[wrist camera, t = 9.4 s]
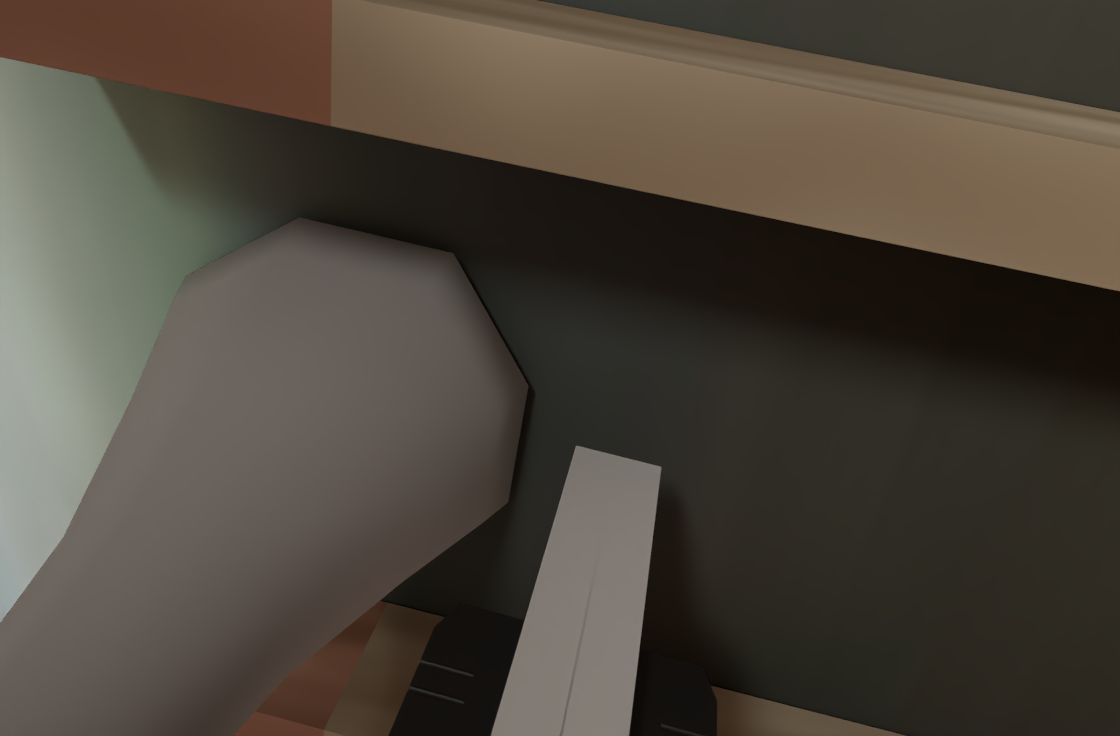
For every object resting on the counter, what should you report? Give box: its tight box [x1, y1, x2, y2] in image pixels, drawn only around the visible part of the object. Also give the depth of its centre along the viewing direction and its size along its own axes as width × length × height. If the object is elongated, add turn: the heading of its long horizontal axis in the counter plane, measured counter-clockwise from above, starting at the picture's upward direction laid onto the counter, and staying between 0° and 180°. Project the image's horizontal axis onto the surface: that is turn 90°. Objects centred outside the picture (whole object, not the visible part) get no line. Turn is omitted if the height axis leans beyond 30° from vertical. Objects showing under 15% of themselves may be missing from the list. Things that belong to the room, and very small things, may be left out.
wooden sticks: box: [0, 0, 1120, 736], centre depth 14 cm, size 15×20×4 cm
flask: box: [0, 217, 529, 736], centre depth 12 cm, size 7×7×10 cm
